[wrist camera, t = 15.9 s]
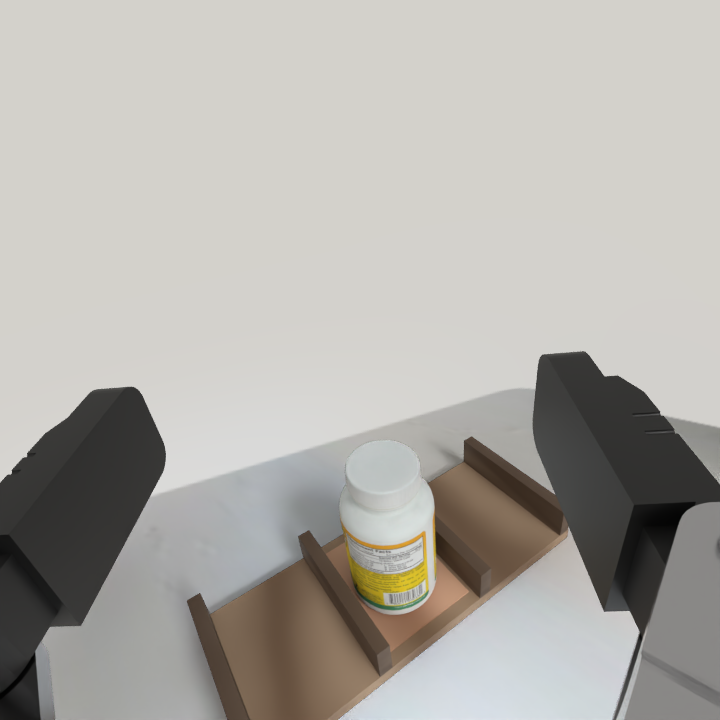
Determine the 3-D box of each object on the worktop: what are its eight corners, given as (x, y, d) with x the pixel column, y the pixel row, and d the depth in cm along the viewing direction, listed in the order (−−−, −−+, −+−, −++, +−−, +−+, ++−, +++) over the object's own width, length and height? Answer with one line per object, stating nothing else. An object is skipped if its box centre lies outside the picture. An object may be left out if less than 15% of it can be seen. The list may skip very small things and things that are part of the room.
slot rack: (471, 464, 38) (472, 436, 37) (566, 537, 32) (572, 506, 30) (200, 629, 29) (185, 601, 27) (254, 785, 22) (239, 759, 20)
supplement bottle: (410, 635, 26) (399, 521, 21) (335, 590, 29) (310, 480, 24) (451, 561, 30) (450, 449, 25) (381, 527, 33) (367, 420, 28)
